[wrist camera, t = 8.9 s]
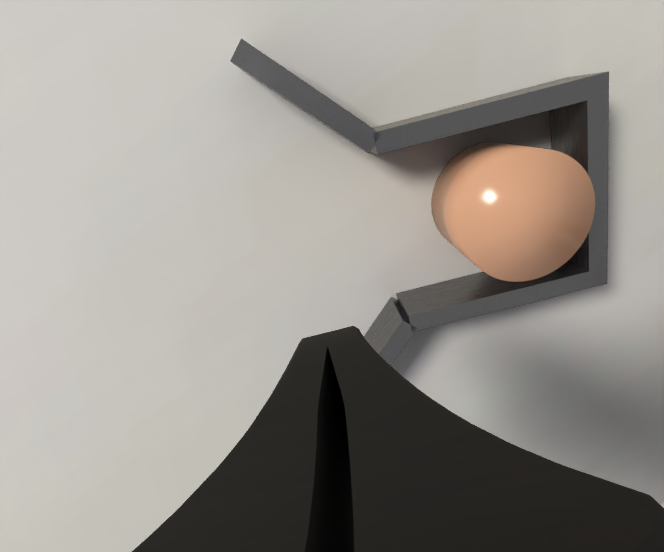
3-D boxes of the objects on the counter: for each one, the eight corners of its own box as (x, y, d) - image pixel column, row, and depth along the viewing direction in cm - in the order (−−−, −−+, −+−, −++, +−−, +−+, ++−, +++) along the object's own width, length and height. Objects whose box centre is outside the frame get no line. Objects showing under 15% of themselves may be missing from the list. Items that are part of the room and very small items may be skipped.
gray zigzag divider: (574, 333, 22) (606, 358, 20) (334, 391, 22) (338, 423, 20) (564, -35, 16) (609, -60, 14) (235, 53, 16) (224, 43, 14)
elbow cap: (540, 236, 20) (595, 264, 16) (439, 261, 20) (470, 295, 16) (534, 129, 18) (595, 133, 14) (423, 157, 18) (454, 168, 15)
